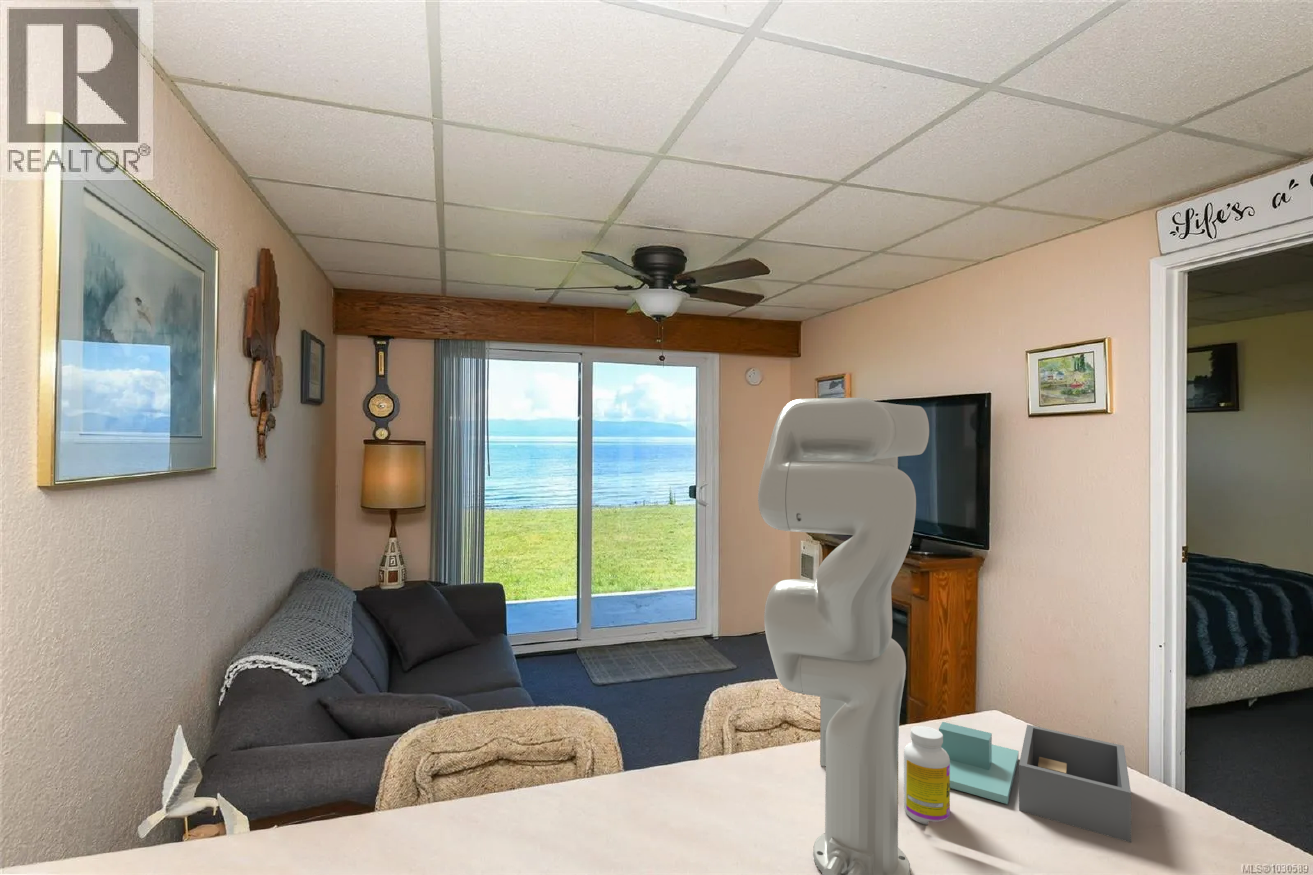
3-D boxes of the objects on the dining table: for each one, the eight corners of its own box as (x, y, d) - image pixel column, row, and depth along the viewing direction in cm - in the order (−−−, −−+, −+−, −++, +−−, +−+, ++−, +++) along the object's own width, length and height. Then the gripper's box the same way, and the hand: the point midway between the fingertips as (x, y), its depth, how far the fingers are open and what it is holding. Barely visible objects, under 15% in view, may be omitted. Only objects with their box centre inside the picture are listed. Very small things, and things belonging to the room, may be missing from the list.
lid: (1007, 814, 99) (1007, 764, 99) (907, 785, 108) (908, 739, 108) (1018, 766, 115) (1018, 723, 115) (930, 744, 123) (930, 703, 124)
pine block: (1066, 791, 104) (1066, 773, 104) (1037, 784, 106) (1037, 766, 106) (1066, 781, 107) (1066, 763, 107) (1039, 774, 109) (1039, 756, 109)
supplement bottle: (954, 830, 94) (955, 743, 95) (908, 824, 96) (908, 739, 96) (943, 806, 101) (944, 725, 101) (900, 801, 102) (900, 721, 102)
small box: (823, 746, 121) (823, 678, 121) (858, 752, 119) (858, 682, 119) (819, 766, 113) (819, 693, 114) (856, 772, 111) (856, 698, 111)
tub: (1131, 849, 90) (1131, 792, 90) (1019, 816, 98) (1019, 764, 98) (1124, 794, 105) (1123, 745, 105) (1027, 769, 113) (1027, 724, 113)
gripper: (884, 484, 102) (883, 590, 101) (908, 481, 116) (908, 574, 115) (838, 482, 106) (837, 584, 105) (867, 479, 120) (866, 569, 120)
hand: (874, 579), depth 110 cm, fingers open, 9 cm apart
